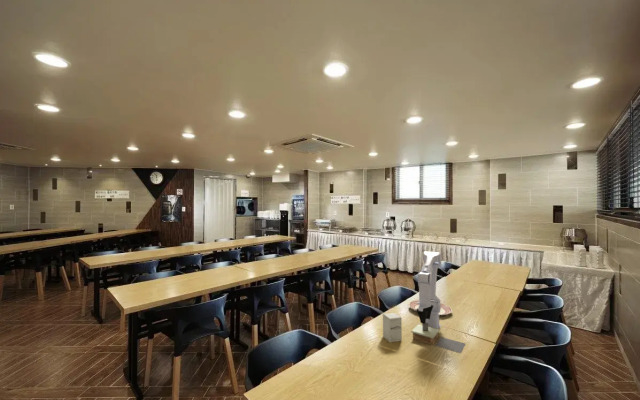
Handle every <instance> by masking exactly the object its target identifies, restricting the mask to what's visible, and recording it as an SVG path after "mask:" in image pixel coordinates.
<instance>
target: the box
mask: <svg viewBox="0 0 640 400" xmlns="http://www.w3.org/2000/svg"><path fill="white" fill-rule="evenodd" d="M438 338H439V332H438V333H437V334H436V335H435V337H434V338H430V337H426V336H423V335H419V334H416V333H412V340H415V341H418V342H420V343H425V344H426V345H430V346H433V345H435V344H436V342H437V341H438V340H439V339H438Z"/></svg>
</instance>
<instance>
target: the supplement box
mask: <svg viewBox="0 0 640 400" xmlns="http://www.w3.org/2000/svg"><path fill="white" fill-rule="evenodd" d="M402 331H403V330H402V316H400V315H398V314H397V313H395V312H390V313H382V336H383V338H384V339H385V340H386V341H387V342H389V343H394V342H395V343H396V342H402V339H403V338H402V334H403V333H402Z"/></svg>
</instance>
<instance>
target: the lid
mask: <svg viewBox="0 0 640 400" xmlns="http://www.w3.org/2000/svg"><path fill="white" fill-rule="evenodd" d="M439 332H440V328H439V329H436V328H432V327H428V323H426V322H425V324H423V323H421V324H420V323H418V324H416V326H415V327H414V328H413V329H412V330H411V333H412V334H413V333H416V334H419V335H423V336H426V337H430V338H434V337H435V335H436V334H437V333H438V334H439Z"/></svg>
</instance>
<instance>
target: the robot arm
mask: <svg viewBox="0 0 640 400" xmlns="http://www.w3.org/2000/svg"><path fill="white" fill-rule="evenodd" d="M422 259H423V262H424V264H423V265H422V266H421V270H420V272H418V273H417V286H418V296H419V297H418V298H419V299H418V300H419V302H417V304H419V309H418V308H417V309H416V313H417V314H418V317H419V321H420V323H421V324H422V323H423V324H425V322H426V323H428V327H432V328H436V329H439V330H440V328H441V327H442V325H441V324H440V316H439V312H440V310H441V304H440V303H441V300H440V298H439V296H437V294H436V293H437V291H436V290H437V278H438V277H437V276H438V269H439V268H440V267H442V253H441V252H440V251H439V252H438V251H437V252H436V251H426V250H424V252H423V253H422Z"/></svg>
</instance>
